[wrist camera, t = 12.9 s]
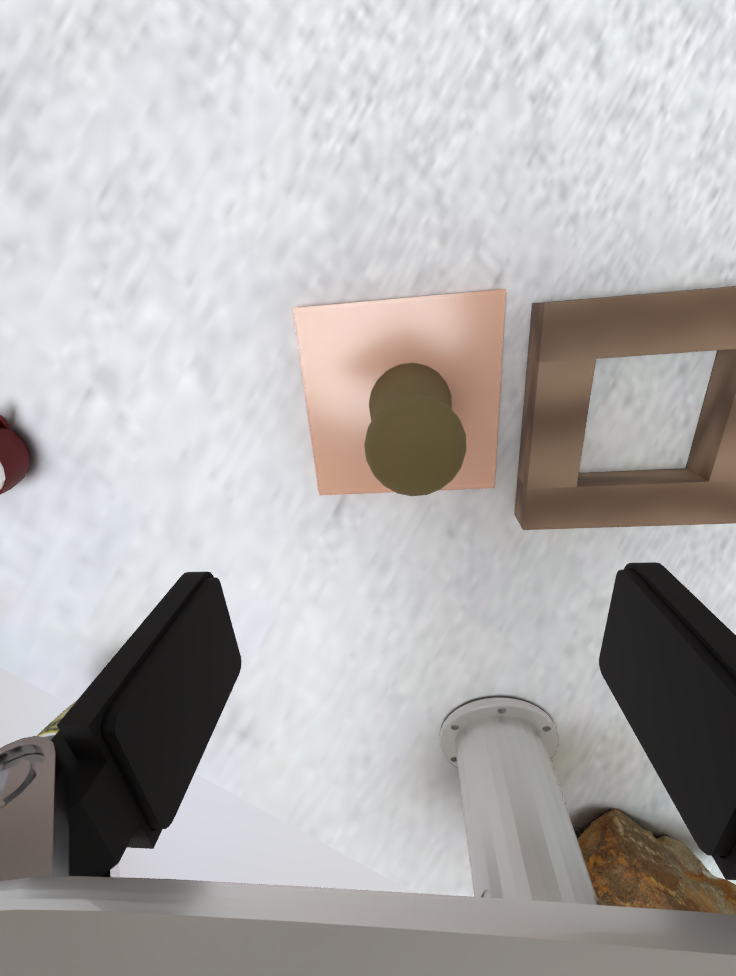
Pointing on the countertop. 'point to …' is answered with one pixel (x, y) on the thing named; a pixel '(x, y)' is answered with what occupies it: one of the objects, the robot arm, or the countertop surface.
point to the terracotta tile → (383, 345)
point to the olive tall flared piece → (413, 431)
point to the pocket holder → (565, 401)
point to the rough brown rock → (649, 870)
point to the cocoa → (11, 457)
